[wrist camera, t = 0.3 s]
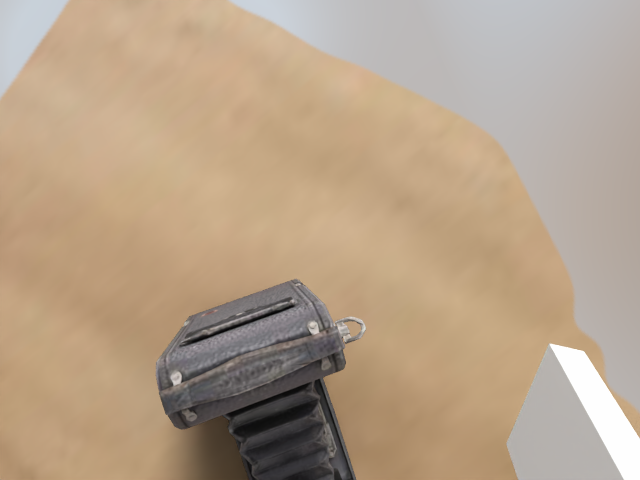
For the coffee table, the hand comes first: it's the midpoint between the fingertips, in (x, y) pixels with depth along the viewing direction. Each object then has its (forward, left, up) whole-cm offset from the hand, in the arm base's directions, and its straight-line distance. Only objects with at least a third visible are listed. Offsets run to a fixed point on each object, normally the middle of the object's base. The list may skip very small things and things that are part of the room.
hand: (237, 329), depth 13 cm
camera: (-3, 0, -36) cm, 36 cm away
